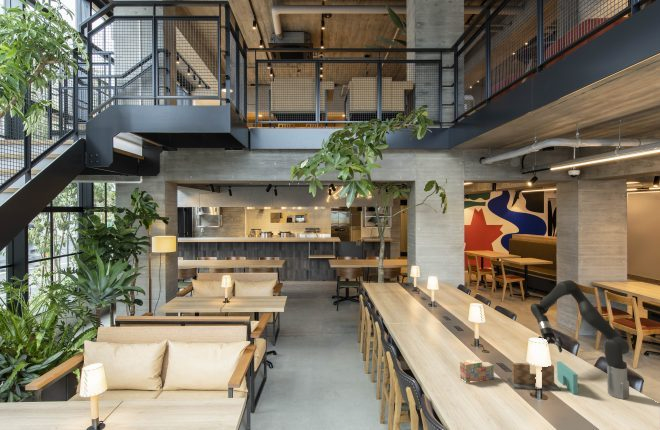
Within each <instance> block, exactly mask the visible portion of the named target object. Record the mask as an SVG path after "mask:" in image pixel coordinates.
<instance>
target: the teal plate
mask: <svg viewBox="0 0 660 430" xmlns="http://www.w3.org/2000/svg"><path fill="white" fill-rule="evenodd" d="M556 370H557V371H556V373H557V374H556V376H557V378H556V379H557V381H559V383H560V384H561V385H562V386H566V389H567V390H568V391H569V392H570V393H571V394H572V395H575V396H577V395H578V394H579V388H578V387H579V386H578V385H579V384H578V383H579V381H578V373H576V372H575V371H574V370H573V369H571V368H570V367H569V366H567V365H566V364H565V363H564V362H563V361H556Z"/></svg>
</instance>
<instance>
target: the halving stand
mask: <svg viewBox="0 0 660 430" xmlns="http://www.w3.org/2000/svg"><path fill="white" fill-rule="evenodd" d="M511 368H512V369H511V372H512V373H511V375H512V376H511V377H512V378H506V379H507V382H508V383H509V384H510V385H511V387H512V388H513V390H514V389H515V390H517V389H518V390H534V389H535V383H536V379H535V377H536V373H531V365H530V363H527V362H525V363H523V362H511ZM541 372H542V390H541V391H554V392H555V391H557V392H560V391H561V388H560V387H559V386H558V385H557V384H556V383H555V365H553V364H551V366H548V367H542V370H541Z"/></svg>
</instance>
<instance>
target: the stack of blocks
mask: <svg viewBox="0 0 660 430" xmlns="http://www.w3.org/2000/svg"><path fill="white" fill-rule="evenodd" d="M459 364H460V365H459V373H460V374H459V375H460V377H459V378H461V379H463V380H464V381H466V382H470V381H478V382H481V381H480V380H484V381H489V380H490V379H491V380H494V379H495V372H494V371H495V369H494V364H492V363H490V362H488V361H484V362H482V361H480V360H478V359H477V358H473V359H466V360H460V361H459ZM461 379H460V380H461ZM464 381H463V382H464Z"/></svg>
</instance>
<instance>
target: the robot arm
mask: <svg viewBox="0 0 660 430" xmlns="http://www.w3.org/2000/svg"><path fill="white" fill-rule="evenodd" d="M570 295H571V296H572V297H573V298H574V300H575V301H576V303H577V306H578V310H579V313H580V315H581V317H582V318H583V319H584V320H585V321H586V323H587V324H588V325H589V326H591V327H592V328H593V329H595V330H596V331H598V332H599V333H601V334H602V335H603V336H604V337H605V338H606V341H605V343H604V355H605V361H606V363H607V364H606V366H607V367H606V368H607V370H606V372H607V373H606V374H607V376H606V378H607V379H606V380H607V394H608V395H609V396H611V397H613V398H618V399H621V400H626V399H628V398H630V381H629V380H628V364H627V362H626V361H624V355H626V354H628V353H629V351H630V345H629V343H628V342H627V341H626V340H625V338H624V337H622V335H620V334H619V333H618V331H616V330H615V329H614V328H613V327H612V326H611V324H610V323H609V322H608V321H607V319H605V317H604V316H603V315H602V314H601V313H600V311H598V309H597V308H596V307H595V306H594V305H593V304H592V303H591V301H590V300H589V298H587V296H586V295H585V293H583V291H582V290H581V288H580V287H579V286H578V284H577V283H576V282H575V281H573V280H571V279H567V280H563V281H559V282H558V283H557V284H556V285H555V287H554V288H553V289H552V290H551V291H550V292H549V293H548V294H547V295H545V296H544V297H543V298H542V299H540V301H539V303H536V302H535V303H531V305H530V311H531V313H532V315H533V316H534V317H535V319H536V321H537V323H538V328H539V331H540V333H541V336H538V338H544V339H546V340H547V342H548V343H547V345H553V344H554V345H555V346H556V347H557V349H558V352H559V353H562V352H563V348H562V347H563V346H564V342H563V340H562V337H560V336H558V337H556V336H555V333H554V331H553V328H552V325H551V323H550V321H549V318H548V316H547V315H546V314H547V312H548V311H549V309H550V308H551V307H552V306H554V305H555V304H556V303H557V301H558V300H559V299H560V298H562V297H564V296H570Z"/></svg>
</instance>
